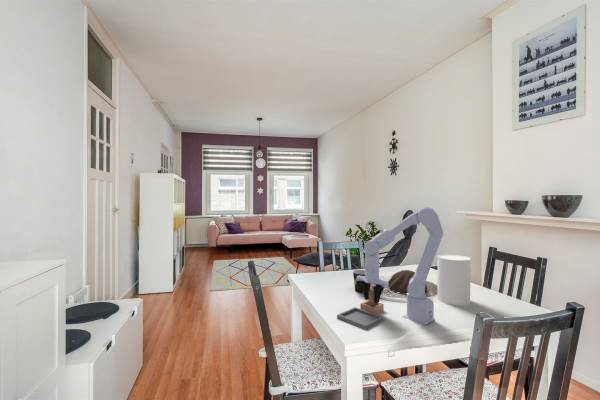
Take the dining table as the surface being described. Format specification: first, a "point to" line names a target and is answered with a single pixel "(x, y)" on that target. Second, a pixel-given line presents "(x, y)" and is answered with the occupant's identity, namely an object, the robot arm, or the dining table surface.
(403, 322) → the dining table surface
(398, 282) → the decorative dome
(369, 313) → the slate tray
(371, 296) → the oak peg
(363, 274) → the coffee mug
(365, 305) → the terracotta square socket
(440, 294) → the canister
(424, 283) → the robot arm
